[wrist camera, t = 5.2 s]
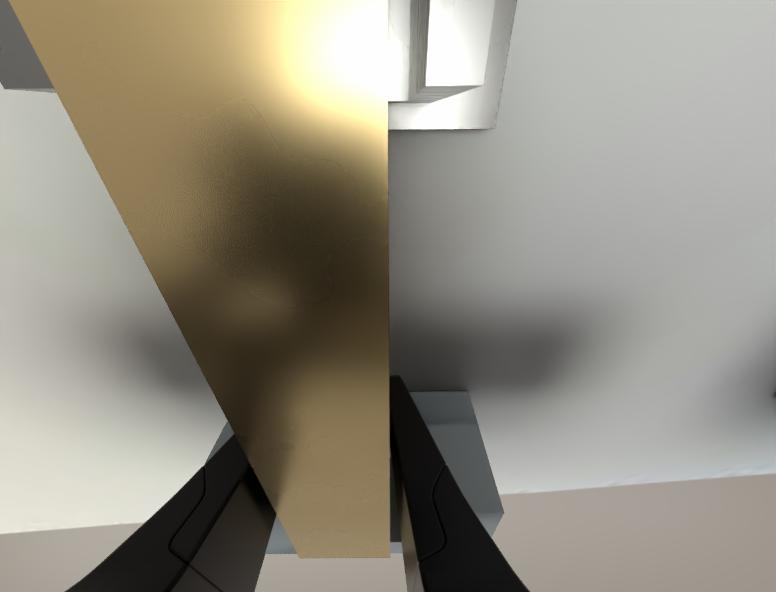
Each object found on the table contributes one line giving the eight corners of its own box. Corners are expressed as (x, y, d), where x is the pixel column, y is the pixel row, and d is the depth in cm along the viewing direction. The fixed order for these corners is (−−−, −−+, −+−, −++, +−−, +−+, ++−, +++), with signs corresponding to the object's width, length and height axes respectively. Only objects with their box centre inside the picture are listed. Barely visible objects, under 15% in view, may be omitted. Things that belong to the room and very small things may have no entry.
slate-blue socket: (467, 391, 12) (504, 512, 9) (457, 436, 14) (483, 552, 10) (242, 392, 12) (178, 514, 9) (261, 438, 14) (216, 554, 10)
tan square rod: (385, -127, 4) (383, -655, 1) (389, 463, 12) (390, 557, 9) (159, -125, 4) (-332, -650, 1) (318, 463, 12) (299, 558, 9)
